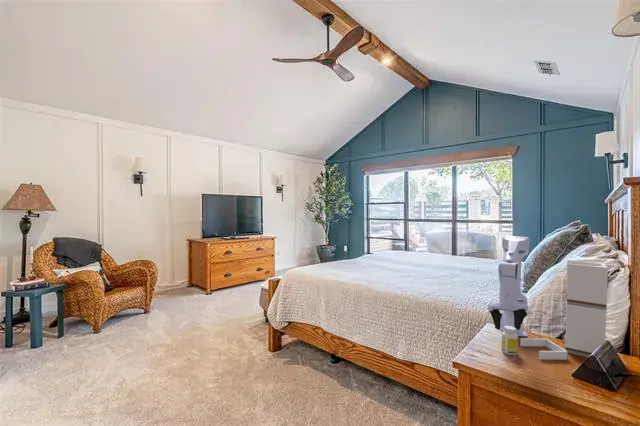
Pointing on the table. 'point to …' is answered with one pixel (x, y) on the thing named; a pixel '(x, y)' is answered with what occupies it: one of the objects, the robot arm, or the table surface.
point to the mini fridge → (585, 306)
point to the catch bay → (556, 350)
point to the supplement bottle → (510, 340)
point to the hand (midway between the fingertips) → (507, 328)
